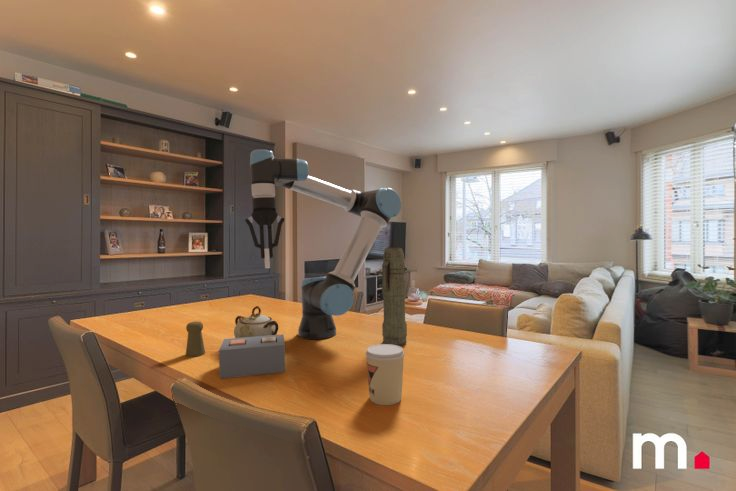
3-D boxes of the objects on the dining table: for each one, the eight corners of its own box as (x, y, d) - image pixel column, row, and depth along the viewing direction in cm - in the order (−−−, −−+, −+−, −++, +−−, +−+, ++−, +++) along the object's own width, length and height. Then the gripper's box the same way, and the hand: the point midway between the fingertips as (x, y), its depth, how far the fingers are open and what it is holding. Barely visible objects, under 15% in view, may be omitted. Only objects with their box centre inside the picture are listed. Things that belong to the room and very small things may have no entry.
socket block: (283, 358, 121) (283, 334, 121) (285, 371, 110) (284, 344, 110) (224, 364, 117) (224, 338, 117) (219, 378, 105) (218, 350, 105)
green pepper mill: (197, 357, 124) (196, 324, 124) (181, 356, 125) (180, 323, 125) (208, 351, 130) (208, 320, 130) (193, 351, 131) (192, 319, 131)
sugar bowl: (292, 345, 136) (291, 304, 135) (263, 358, 123) (262, 312, 122) (251, 339, 145) (250, 300, 144) (220, 350, 131) (219, 308, 131)
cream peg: (276, 362, 117) (275, 336, 117) (276, 366, 113) (275, 340, 113) (262, 363, 116) (262, 337, 116) (262, 367, 112) (261, 341, 112)
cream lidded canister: (364, 391, 95) (364, 344, 95) (401, 389, 96) (400, 342, 96) (368, 407, 86) (367, 356, 86) (408, 405, 87) (407, 354, 87)
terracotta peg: (245, 365, 115) (245, 339, 114) (244, 369, 111) (244, 342, 111) (231, 366, 114) (231, 340, 113) (230, 370, 110) (229, 343, 110)
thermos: (375, 344, 135) (374, 247, 134) (391, 336, 145) (390, 246, 144) (397, 348, 131) (396, 248, 130) (412, 340, 141) (411, 246, 140)
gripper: (282, 198, 131) (286, 265, 132) (243, 198, 127) (247, 268, 128) (284, 196, 124) (288, 267, 125) (243, 196, 120) (247, 270, 121)
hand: (267, 267), depth 126 cm, fingers closed
